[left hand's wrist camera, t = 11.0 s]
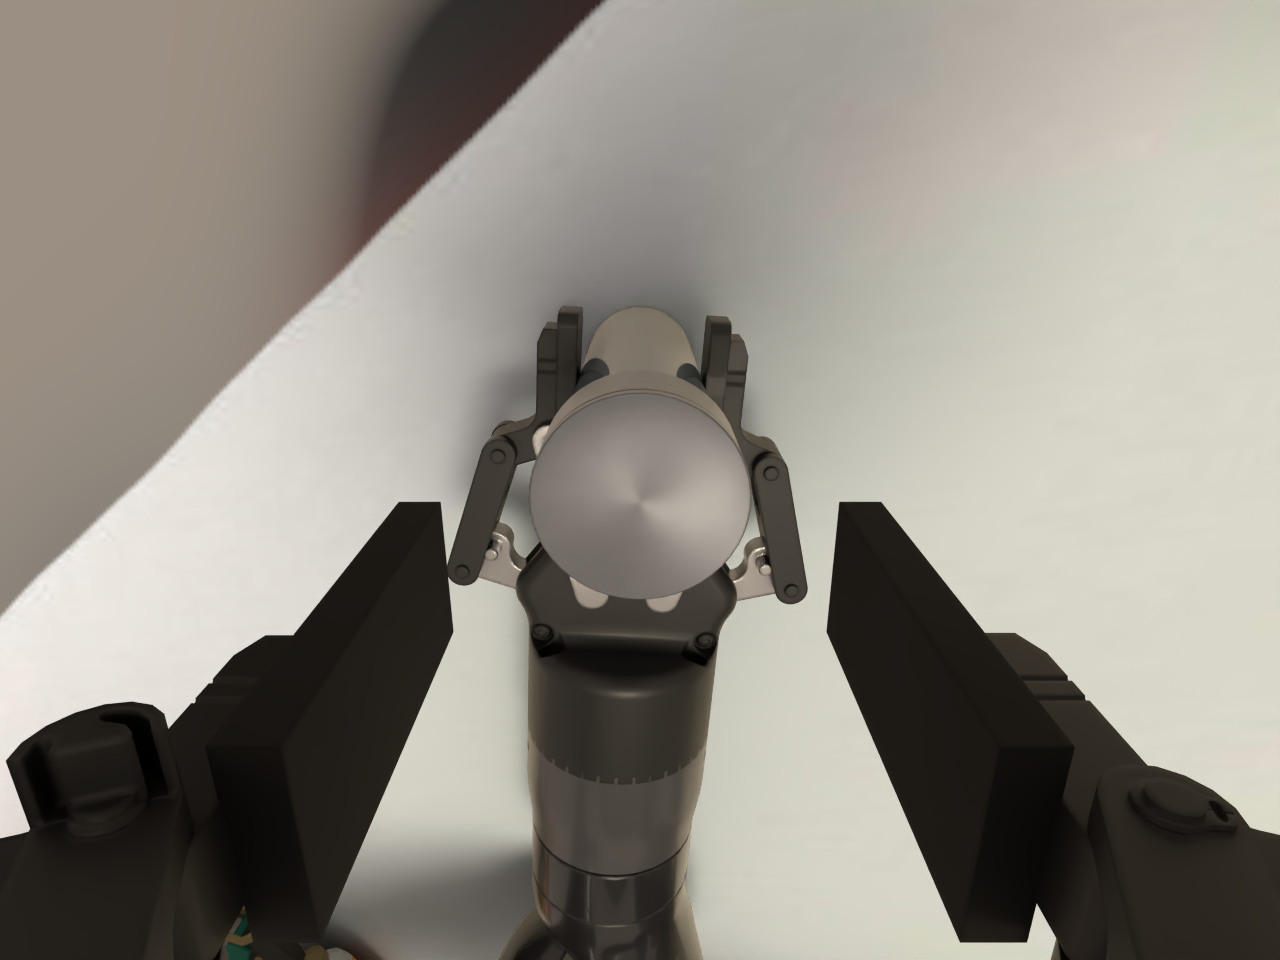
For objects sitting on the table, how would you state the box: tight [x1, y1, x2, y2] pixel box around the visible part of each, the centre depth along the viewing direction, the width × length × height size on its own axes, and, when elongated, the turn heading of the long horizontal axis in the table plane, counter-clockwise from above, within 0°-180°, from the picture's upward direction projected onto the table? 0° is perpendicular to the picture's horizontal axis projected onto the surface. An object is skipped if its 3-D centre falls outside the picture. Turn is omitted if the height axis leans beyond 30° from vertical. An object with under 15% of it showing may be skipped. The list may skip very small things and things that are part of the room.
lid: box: [529, 370, 752, 600], centre depth 18 cm, size 5×5×2 cm
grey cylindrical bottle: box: [573, 307, 707, 395], centre depth 25 cm, size 4×4×16 cm
